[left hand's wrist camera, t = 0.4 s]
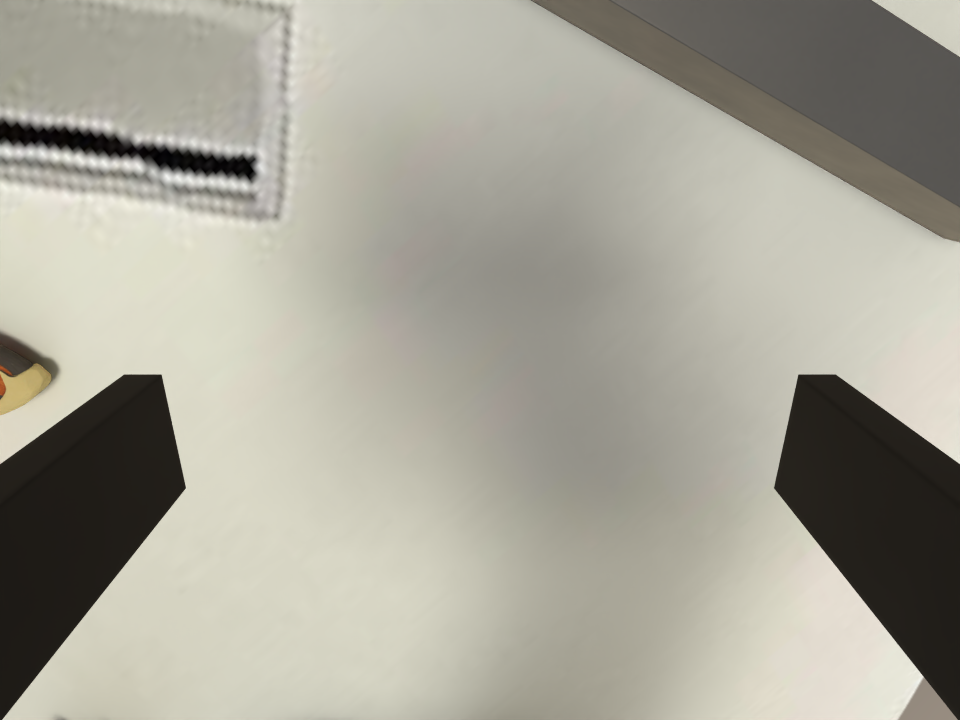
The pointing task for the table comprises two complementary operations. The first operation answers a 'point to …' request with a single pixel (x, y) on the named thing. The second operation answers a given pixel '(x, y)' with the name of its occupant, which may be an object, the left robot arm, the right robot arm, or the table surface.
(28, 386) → the toy gun
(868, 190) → the post
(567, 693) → the table surface
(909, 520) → the left robot arm
